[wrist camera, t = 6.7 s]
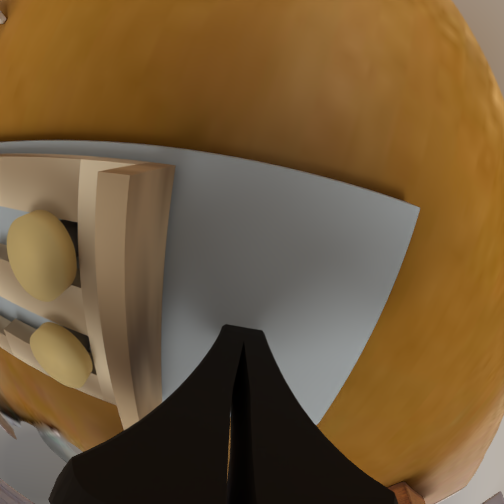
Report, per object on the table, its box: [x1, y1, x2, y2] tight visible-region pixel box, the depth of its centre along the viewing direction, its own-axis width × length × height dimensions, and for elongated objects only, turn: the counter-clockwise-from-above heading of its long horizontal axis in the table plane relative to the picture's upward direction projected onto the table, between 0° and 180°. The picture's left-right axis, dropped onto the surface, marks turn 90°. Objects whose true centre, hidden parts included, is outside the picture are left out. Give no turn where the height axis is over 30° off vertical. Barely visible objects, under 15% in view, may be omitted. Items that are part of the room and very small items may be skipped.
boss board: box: [0, 140, 420, 425], centre depth 9 cm, size 12×23×4 cm, turn 79°
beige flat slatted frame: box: [0, 153, 176, 430], centre depth 8 cm, size 11×14×3 cm
